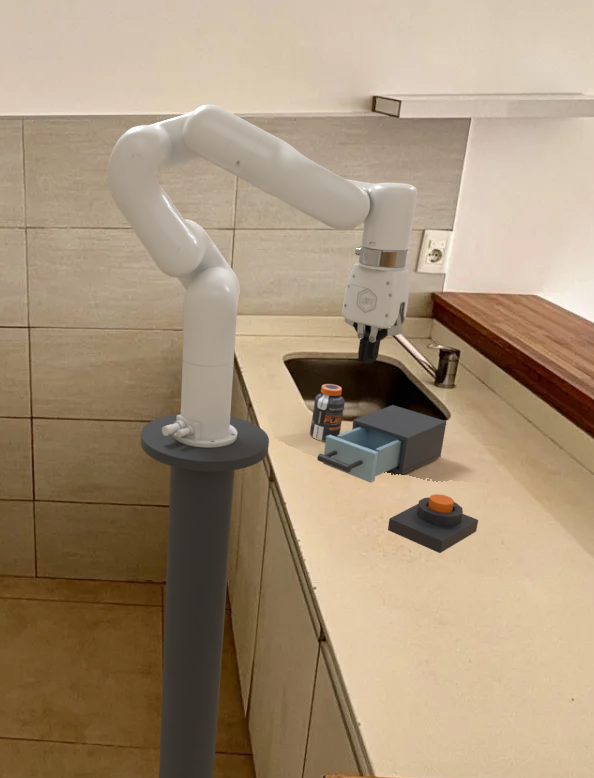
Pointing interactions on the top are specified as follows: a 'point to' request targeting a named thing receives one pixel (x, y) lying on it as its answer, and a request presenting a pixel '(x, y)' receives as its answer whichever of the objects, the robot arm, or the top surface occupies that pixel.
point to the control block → (433, 526)
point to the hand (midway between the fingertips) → (366, 361)
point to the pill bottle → (327, 412)
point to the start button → (441, 503)
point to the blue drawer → (362, 453)
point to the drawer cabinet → (408, 434)
